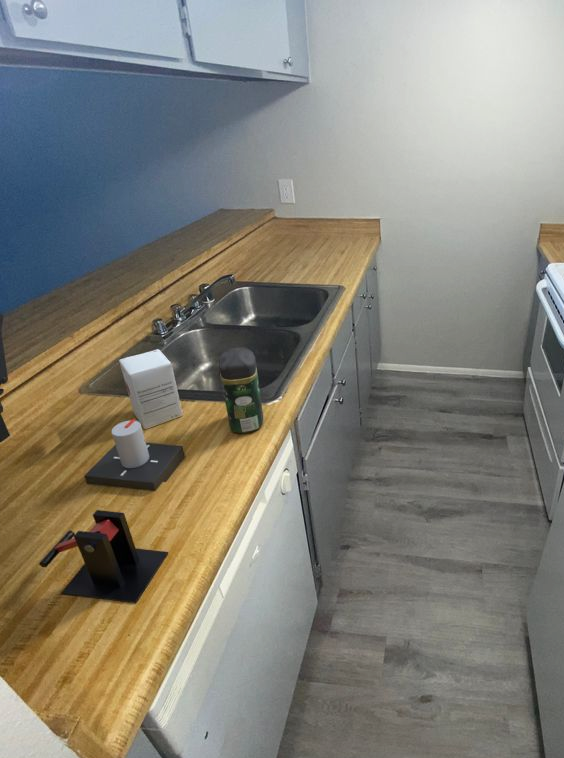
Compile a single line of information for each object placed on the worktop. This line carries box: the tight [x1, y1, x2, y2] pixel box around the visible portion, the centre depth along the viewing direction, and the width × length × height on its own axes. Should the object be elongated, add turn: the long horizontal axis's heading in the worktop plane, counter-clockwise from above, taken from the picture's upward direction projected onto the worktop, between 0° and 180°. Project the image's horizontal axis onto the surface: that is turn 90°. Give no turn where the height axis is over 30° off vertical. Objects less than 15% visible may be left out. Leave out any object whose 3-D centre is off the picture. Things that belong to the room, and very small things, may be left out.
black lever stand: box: [60, 509, 169, 604], centre depth 73 cm, size 12×9×12 cm
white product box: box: [118, 348, 183, 430], centre depth 110 cm, size 9×9×15 cm
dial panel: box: [84, 442, 186, 492], centre depth 96 cm, size 14×11×3 cm
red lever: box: [38, 519, 119, 568], centre depth 72 cm, size 12×6×2 cm, turn 84°
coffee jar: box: [218, 347, 264, 434], centre depth 108 cm, size 10×8×19 cm
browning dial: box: [111, 418, 149, 468], centre depth 93 cm, size 5×5×8 cm
